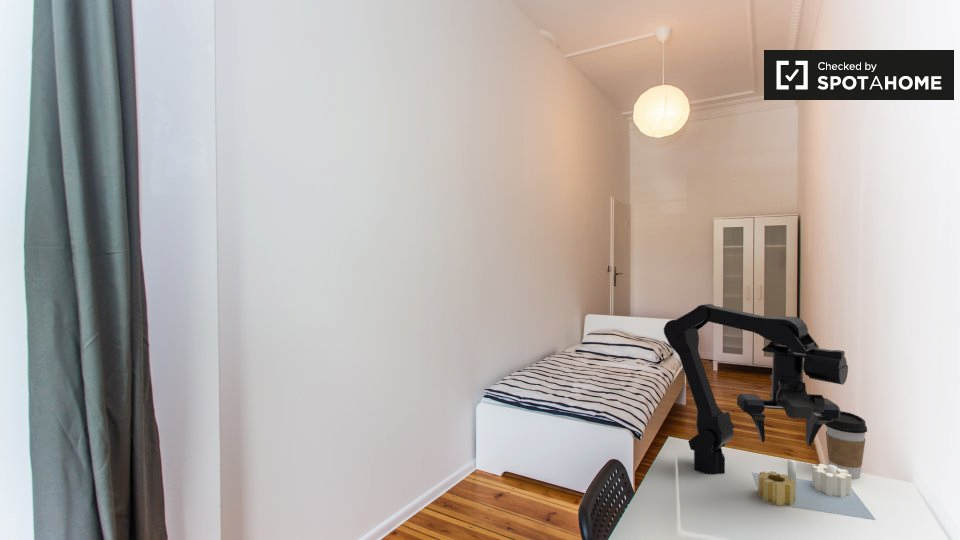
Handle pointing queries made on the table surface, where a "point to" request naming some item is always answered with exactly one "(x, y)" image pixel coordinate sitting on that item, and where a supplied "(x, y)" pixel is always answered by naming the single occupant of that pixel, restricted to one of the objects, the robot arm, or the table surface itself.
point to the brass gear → (776, 488)
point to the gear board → (823, 497)
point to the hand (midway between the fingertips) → (785, 443)
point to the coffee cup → (846, 442)
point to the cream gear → (832, 481)
